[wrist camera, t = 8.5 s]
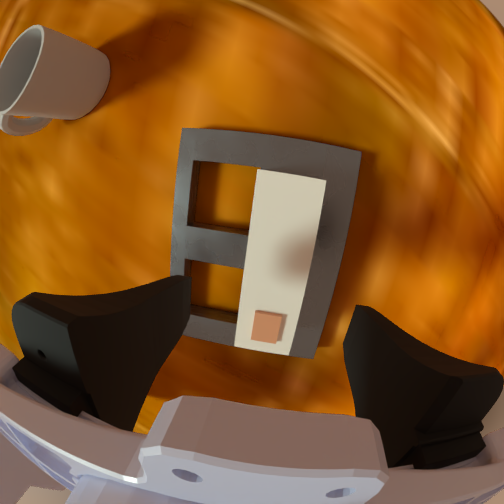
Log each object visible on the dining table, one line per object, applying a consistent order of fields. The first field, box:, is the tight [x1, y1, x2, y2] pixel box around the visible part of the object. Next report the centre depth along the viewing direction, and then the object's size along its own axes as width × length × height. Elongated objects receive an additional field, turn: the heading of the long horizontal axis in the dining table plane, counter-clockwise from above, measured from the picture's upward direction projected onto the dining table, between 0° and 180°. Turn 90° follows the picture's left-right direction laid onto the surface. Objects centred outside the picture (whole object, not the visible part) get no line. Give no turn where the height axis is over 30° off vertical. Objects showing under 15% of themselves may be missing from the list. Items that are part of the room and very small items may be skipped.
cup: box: [0, 25, 111, 136], centre depth 14 cm, size 7×10×9 cm
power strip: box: [234, 169, 326, 355], centre depth 17 cm, size 11×4×5 cm, turn 172°
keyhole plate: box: [170, 128, 362, 359], centre depth 19 cm, size 16×12×2 cm
